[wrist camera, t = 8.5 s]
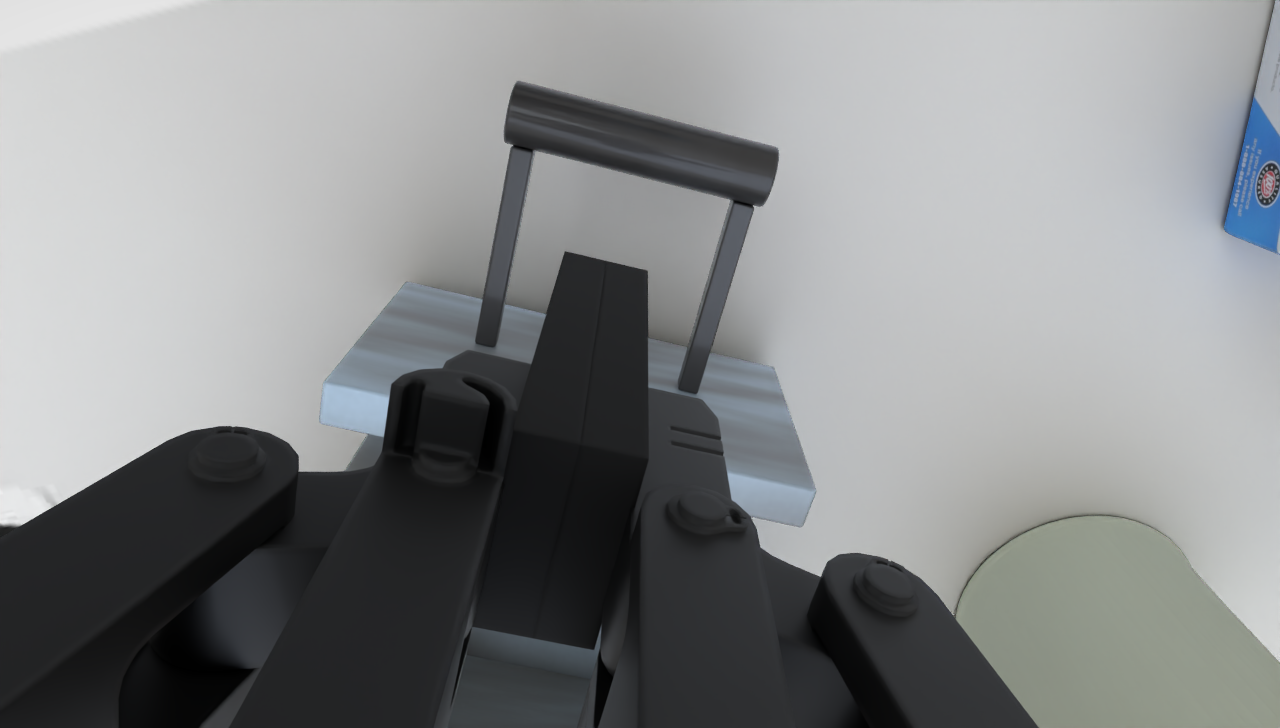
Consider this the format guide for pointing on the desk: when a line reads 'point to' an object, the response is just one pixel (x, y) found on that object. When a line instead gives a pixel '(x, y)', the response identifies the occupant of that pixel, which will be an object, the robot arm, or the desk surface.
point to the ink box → (1261, 156)
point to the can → (1115, 632)
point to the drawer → (452, 323)
